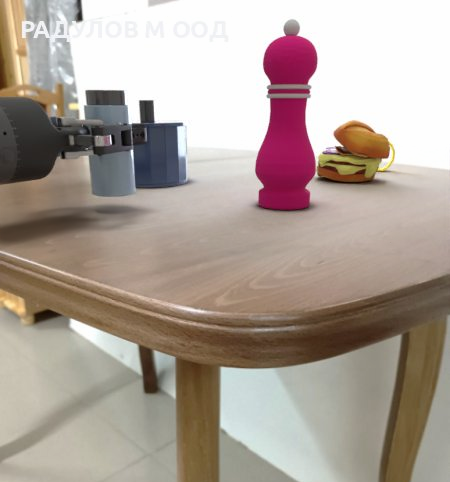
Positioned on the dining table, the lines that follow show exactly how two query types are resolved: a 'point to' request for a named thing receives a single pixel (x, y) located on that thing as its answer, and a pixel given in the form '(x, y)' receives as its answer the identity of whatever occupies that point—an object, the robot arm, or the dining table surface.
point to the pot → (162, 158)
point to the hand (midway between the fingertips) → (126, 132)
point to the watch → (390, 160)
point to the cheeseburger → (353, 154)
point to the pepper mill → (287, 123)
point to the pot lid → (154, 116)
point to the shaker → (114, 164)
